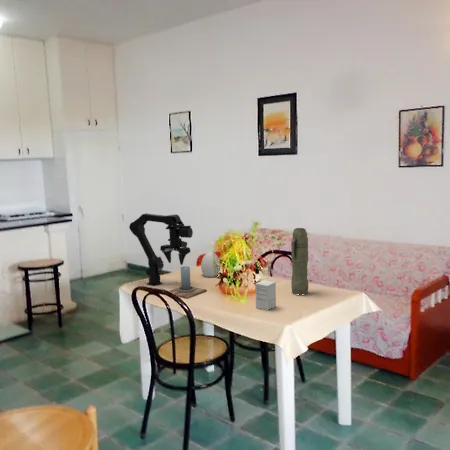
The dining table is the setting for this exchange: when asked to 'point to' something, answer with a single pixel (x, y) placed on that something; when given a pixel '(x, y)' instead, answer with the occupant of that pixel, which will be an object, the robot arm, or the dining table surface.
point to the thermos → (299, 261)
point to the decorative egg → (210, 265)
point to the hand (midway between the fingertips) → (175, 263)
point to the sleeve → (185, 278)
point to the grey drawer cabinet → (265, 294)
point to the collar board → (198, 291)
